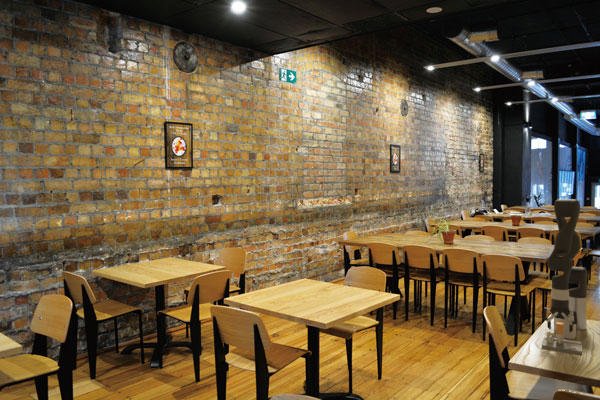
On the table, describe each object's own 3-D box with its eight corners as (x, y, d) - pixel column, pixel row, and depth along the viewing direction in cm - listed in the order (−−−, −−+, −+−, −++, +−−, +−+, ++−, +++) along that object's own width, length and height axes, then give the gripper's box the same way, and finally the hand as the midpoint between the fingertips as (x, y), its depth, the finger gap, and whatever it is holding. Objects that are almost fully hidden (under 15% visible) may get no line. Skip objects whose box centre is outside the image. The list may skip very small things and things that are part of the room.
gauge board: (541, 348, 213) (541, 334, 213) (543, 340, 223) (543, 327, 223) (582, 354, 204) (582, 340, 204) (582, 346, 214) (582, 333, 214)
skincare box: (561, 333, 233) (561, 311, 232) (553, 331, 236) (553, 309, 236) (568, 331, 235) (568, 309, 235) (560, 329, 239) (560, 307, 239)
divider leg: (555, 345, 211) (555, 325, 211) (556, 340, 218) (556, 321, 217) (562, 346, 210) (562, 326, 209) (563, 341, 216) (563, 322, 216)
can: (571, 334, 230) (571, 312, 230) (578, 340, 223) (578, 316, 222) (556, 334, 231) (556, 312, 231) (563, 339, 224) (563, 316, 223)
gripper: (577, 297, 214) (577, 330, 214) (544, 294, 221) (544, 326, 222) (577, 301, 207) (577, 335, 208) (542, 297, 215) (542, 330, 216)
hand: (559, 330), depth 215 cm, fingers open, 8 cm apart
